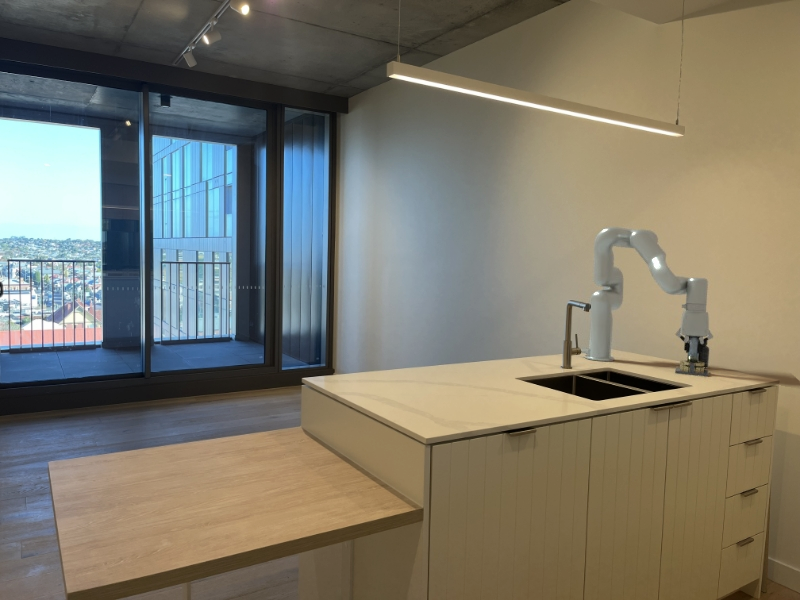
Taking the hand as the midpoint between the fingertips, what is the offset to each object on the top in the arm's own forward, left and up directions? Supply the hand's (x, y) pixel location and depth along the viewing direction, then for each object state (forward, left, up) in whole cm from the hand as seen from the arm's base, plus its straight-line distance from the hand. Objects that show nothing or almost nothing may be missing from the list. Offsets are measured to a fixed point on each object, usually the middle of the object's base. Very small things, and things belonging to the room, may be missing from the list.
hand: (693, 352), depth 249 cm
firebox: (0, 0, -8) cm, 8 cm away
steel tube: (0, 0, -6) cm, 6 cm away
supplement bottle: (+3, +20, -8) cm, 22 cm away
